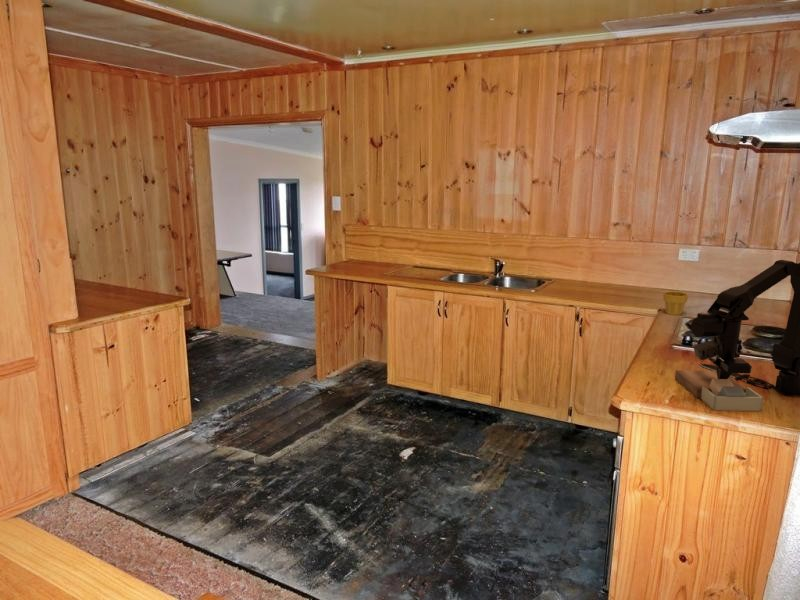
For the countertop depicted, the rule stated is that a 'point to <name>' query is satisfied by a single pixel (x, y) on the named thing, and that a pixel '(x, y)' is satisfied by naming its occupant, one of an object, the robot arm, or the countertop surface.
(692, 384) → the board
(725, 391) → the grey block
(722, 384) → the cream block
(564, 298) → the countertop surface
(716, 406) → the tray
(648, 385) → the countertop surface
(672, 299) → the plant pot
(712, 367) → the knife
